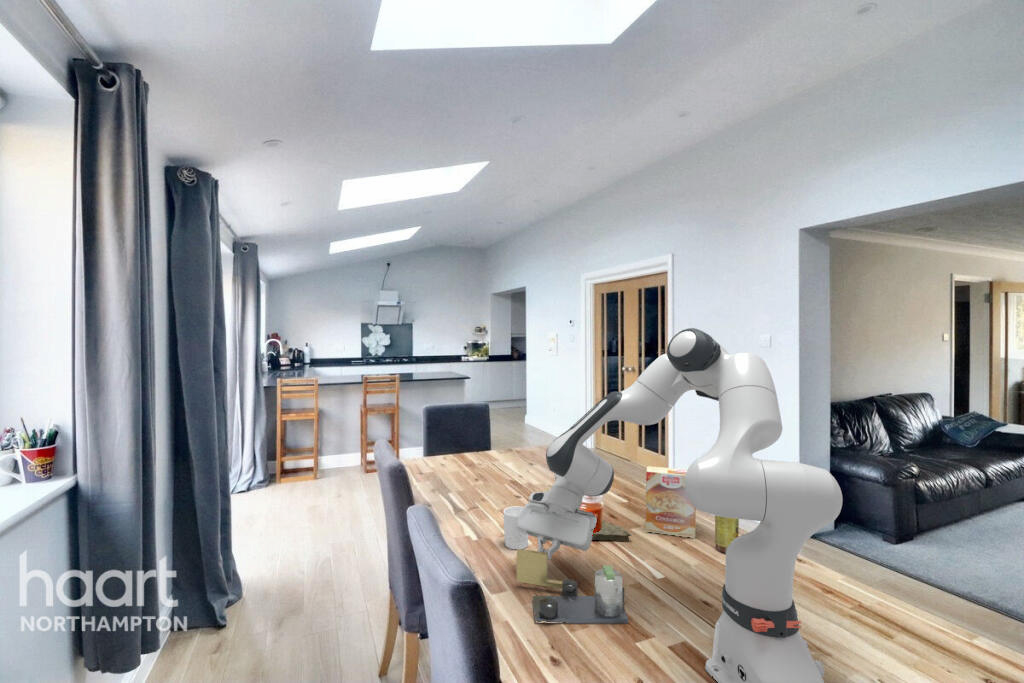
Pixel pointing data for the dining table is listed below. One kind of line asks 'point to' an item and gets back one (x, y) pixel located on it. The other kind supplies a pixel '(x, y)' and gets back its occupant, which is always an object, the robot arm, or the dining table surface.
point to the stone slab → (611, 533)
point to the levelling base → (586, 602)
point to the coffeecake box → (668, 503)
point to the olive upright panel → (540, 572)
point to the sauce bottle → (725, 532)
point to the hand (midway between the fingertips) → (543, 557)
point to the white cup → (513, 529)
